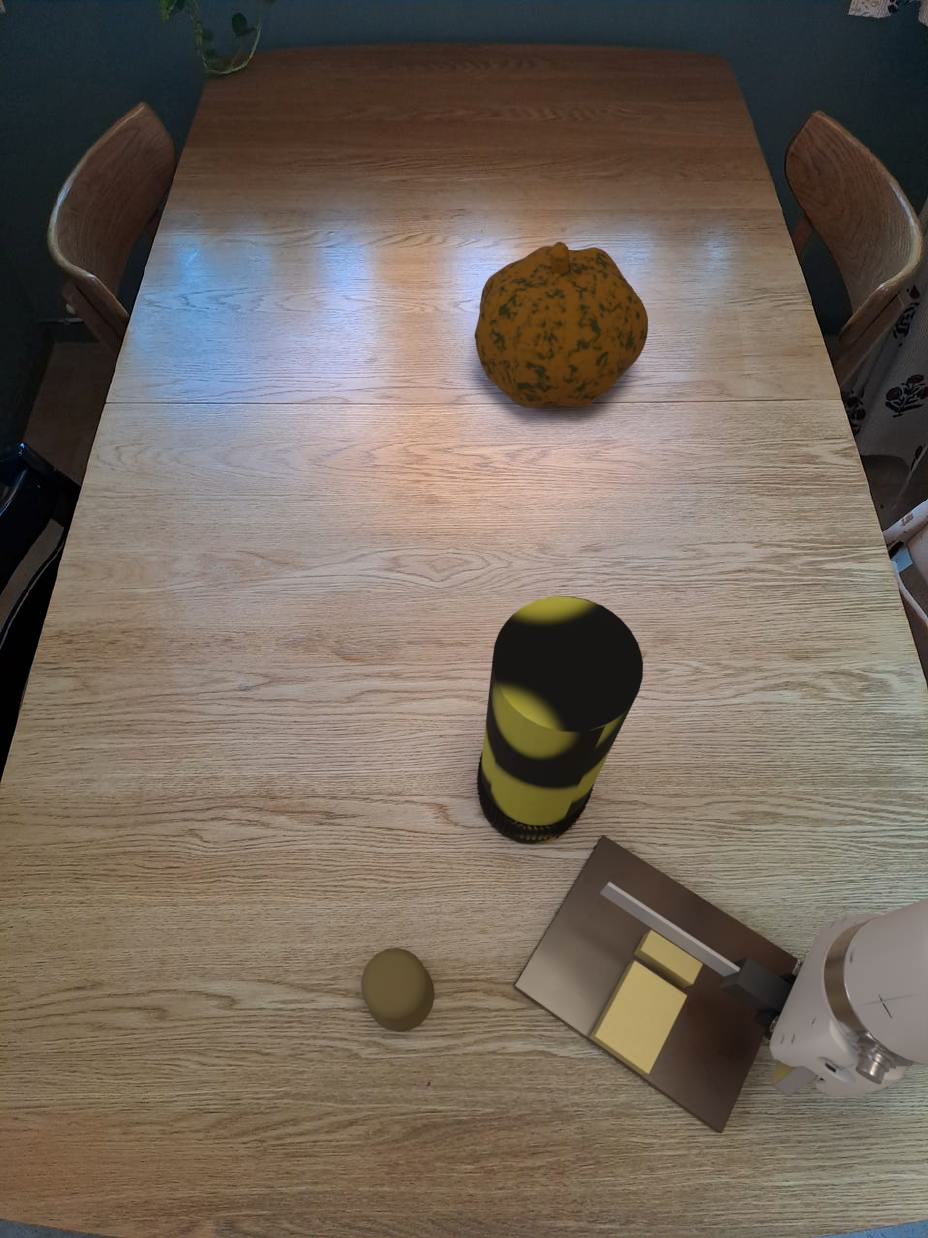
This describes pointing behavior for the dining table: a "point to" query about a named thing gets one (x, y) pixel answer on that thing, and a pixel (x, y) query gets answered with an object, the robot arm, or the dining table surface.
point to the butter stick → (638, 1017)
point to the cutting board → (605, 945)
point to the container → (553, 713)
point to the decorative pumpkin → (559, 327)
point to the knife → (713, 959)
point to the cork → (397, 990)
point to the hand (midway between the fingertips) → (782, 1011)
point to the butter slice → (668, 959)
